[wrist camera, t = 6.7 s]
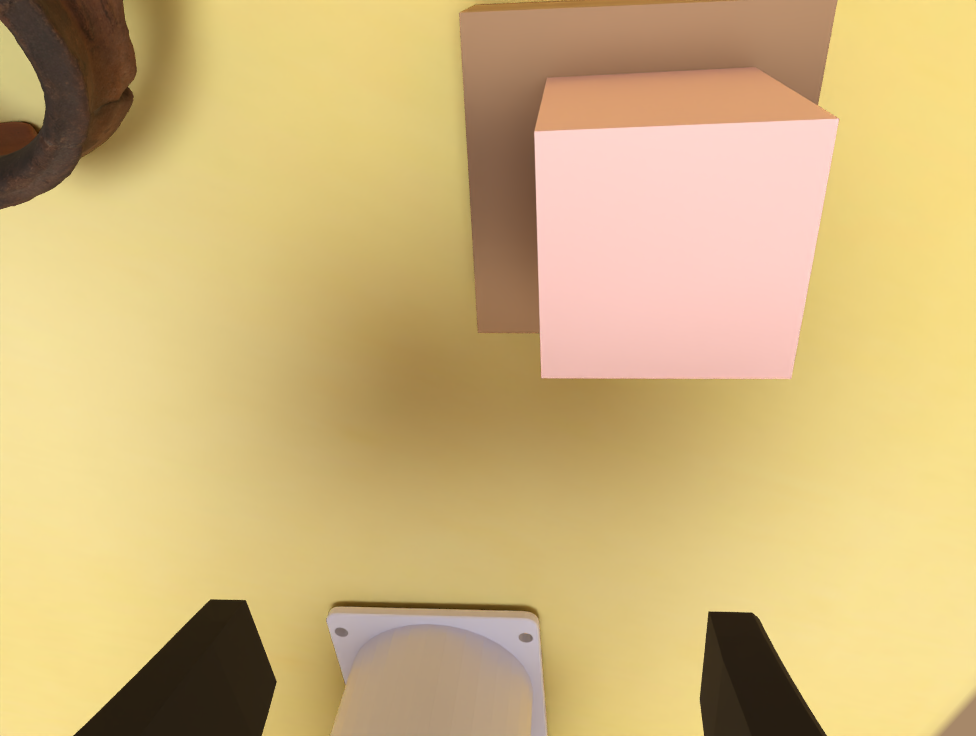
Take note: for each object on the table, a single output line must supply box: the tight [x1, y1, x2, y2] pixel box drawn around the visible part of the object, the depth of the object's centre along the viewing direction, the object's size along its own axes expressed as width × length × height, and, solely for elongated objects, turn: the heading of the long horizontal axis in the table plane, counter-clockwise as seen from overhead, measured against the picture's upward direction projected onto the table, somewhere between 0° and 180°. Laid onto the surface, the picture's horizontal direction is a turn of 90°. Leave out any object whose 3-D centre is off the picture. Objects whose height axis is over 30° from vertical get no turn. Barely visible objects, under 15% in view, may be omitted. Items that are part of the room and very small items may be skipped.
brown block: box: [459, 0, 837, 333], centre depth 16 cm, size 7×7×3 cm
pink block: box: [534, 67, 839, 379], centre depth 12 cm, size 4×4×5 cm
